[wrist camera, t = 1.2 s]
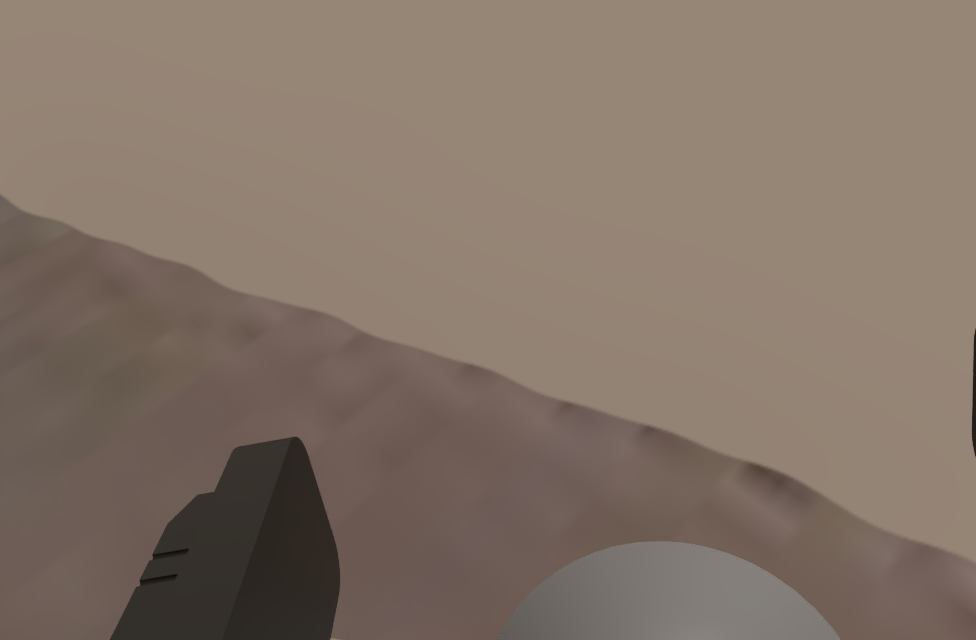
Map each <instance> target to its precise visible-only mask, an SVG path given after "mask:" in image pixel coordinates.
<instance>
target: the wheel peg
mask: <svg viewBox="0 0 976 640" xmlns="http://www.w3.org/2000/svg"><path fill="white" fill-rule="evenodd" d="M497 640H841V639H840V638H839V636H838V635H837V634H836V632H835V631H834V630H833V628H832V627H831V626H830V625H829V624H828V622H827V621H826V620H825V619H824V618H823V617H822V616H821V615H820V614H819V613H818V611H817V610H816V609H815V608H814V607H813V606H812V605H811V604H809V603H808V602H807V601H806V600H805V599H804V598H803V597H802V596H800V595H799V594H798V593H797V592H796V591H795V590H793V589H792V588H791V587H789V586H788V585H786V584H785V583H784V582H782V581H781V580H779V579H778V578H777V577H775V576H774V575H772V574H770V573H768V572H767V571H765V570H763V569H761V568H759V567H758V566H756V565H754V564H752V563H750V562H748V561H745V560H743V559H741V558H738V557H736V556H734V555H731V554H729V553H725V552H722V551H719V550H715V549H712V548H709V547H705V546H699V545H694V544H688V543H682V542H666V541H653V542H636V543H630V544H624V545H619V546H614V547H610V548H607V549H604V550H600V551H597V552H594V553H591V554H589V555H587V556H585V557H582V558H580V559H578V560H576V561H573V562H572V563H570V564H568V565H567V566H565V567H563V568H562V569H560V570H558V571H557V572H555V573H553V574H552V575H551V576H550V577H548V578H547V579H546V580H545V581H543V582H542V583H541V584H540V585H538V586H537V587H536V588H535V589H534V590H533V591H532V592H531V593H530V594H529V595H528V596H527V597H526V598H525V599H524V600H523V601H522V602H521V603H520V605H519V606H518V607H517V609H516V610H515V611H514V613H513V614H512V615H511V617H510V618H509V620H508V621H507V622H506V624H505V626H504V627H503V629H502V631H501V633H500V635H499V636H498V638H497Z"/></svg>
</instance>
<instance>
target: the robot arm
mask: <svg viewBox="0 0 976 640" xmlns="http://www.w3.org/2000/svg"><path fill="white" fill-rule="evenodd" d="M973 363H974V365H973V411H972V441H973V447H974V452H975V456H976V330H975V335H974V362H973ZM152 555H153V560H151V561H149V562H148V564H147V566H146V568H145V570H144V572H143V574H142V576H141V578H140V586H138V587H136V588H135V591H134V593H133V595H132V597H131V599H130V601H129V603H128V605H127V607H126V609H125V611H124V613H123V615H122V617H121V619H120V621H119V623H118V625H117V627H116V629H115V631H114V633H113V635H112V637H111V639H110V640H330V638H331V633H332V628H333V622H334V617H335V612H336V607H337V602H338V597H339V590H340V568H339V559H338V553H337V548H336V543H335V540H334V536H333V533H332V530H331V527H330V523H329V520H328V517H327V514H326V511H325V507H324V504H323V501H322V498H321V495H320V492H319V488H318V485H317V482H316V479H315V476H314V472H313V469H312V466H311V463H310V460H309V456H308V454H307V451H306V448H305V446H304V444H303V443H302V441H301V440H300V439H299V438H298V437H290V438H285V439H279V440H273V441H268V442H262V443H256V444H251V445H245V446H239V447H236V448H235V449H234V450H233V452H232V453H231V456H230V458H229V460H228V462H227V465H226V467H225V469H224V471H223V474H222V476H221V478H220V480H219V483H218V485H217V487H216V489H215V492H211V493H205V494H200V495H197V496H196V497H195V498H194V499H193V500H192V501H191V502H190V503H189V504H188V505H187V506H186V507H185V508H184V509H183V510H182V511H180V512H179V513H178V514H177V515H176V516H175V517H174V518H173V519H172V520H171V521H170V522H169V523H168V524H167V526H166V528H165V530H164V532H163V534H162V536H161V538H160V540H159V542H158V544H157V546H156V548H155V550H154V552H153V554H152Z"/></svg>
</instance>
